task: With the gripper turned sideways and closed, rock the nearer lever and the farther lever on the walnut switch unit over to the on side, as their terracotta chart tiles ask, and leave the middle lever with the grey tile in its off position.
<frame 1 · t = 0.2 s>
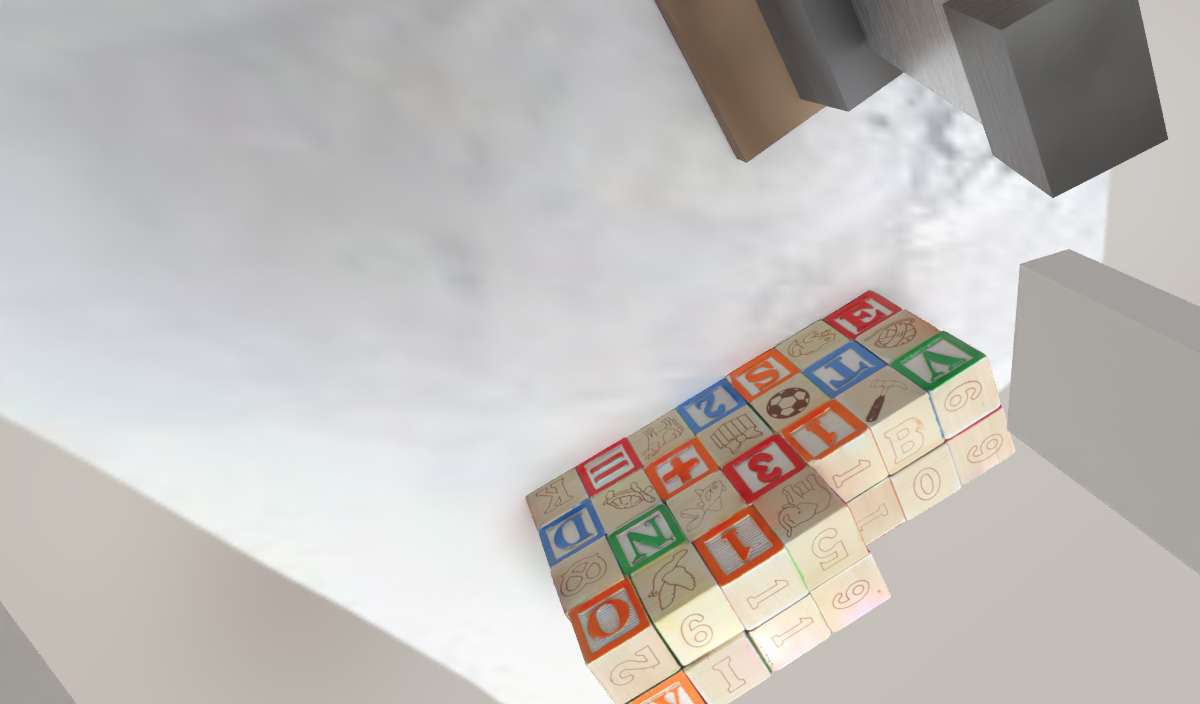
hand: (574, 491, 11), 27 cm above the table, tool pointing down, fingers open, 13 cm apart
lever 1: (957, 25, 25), point 13 cm above the table, hinge at -15.0°
stack of blocks: (718, 430, 45), on the table
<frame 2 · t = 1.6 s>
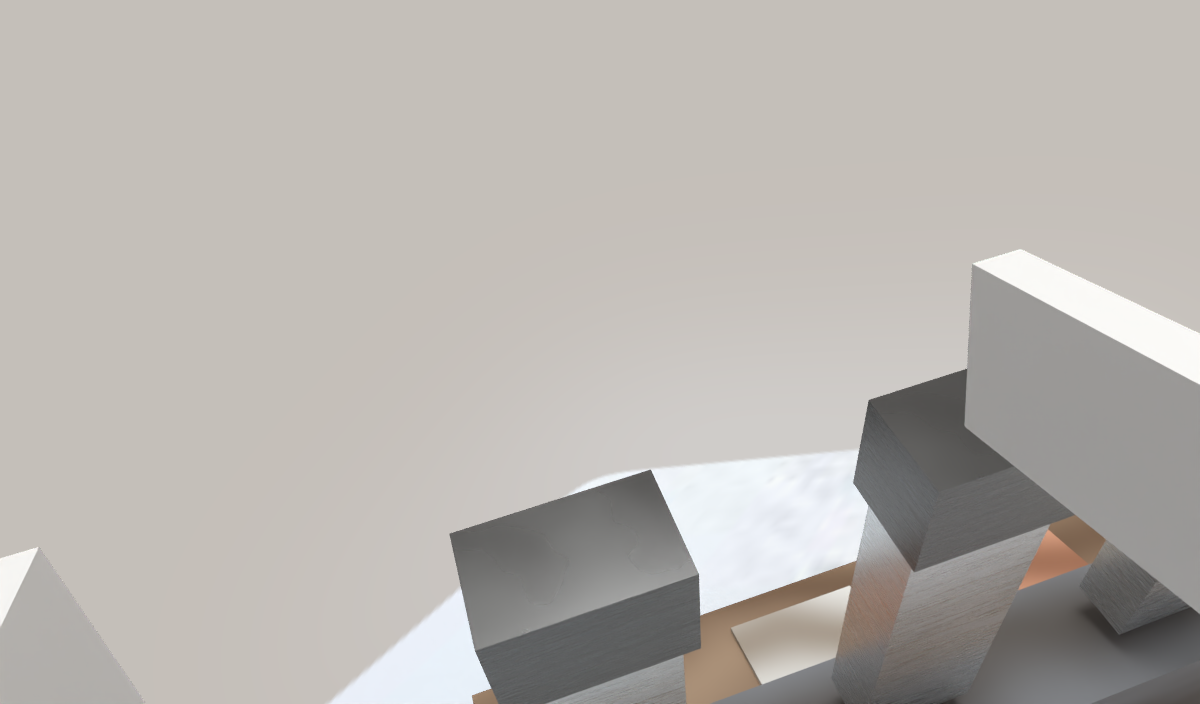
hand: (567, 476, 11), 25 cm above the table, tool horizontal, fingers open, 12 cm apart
lever 2: (602, 697, 22), point 13 cm above the table, hinge at -15.0°
lever middle: (936, 577, 24), point 13 cm above the table, hinge at -15.0°
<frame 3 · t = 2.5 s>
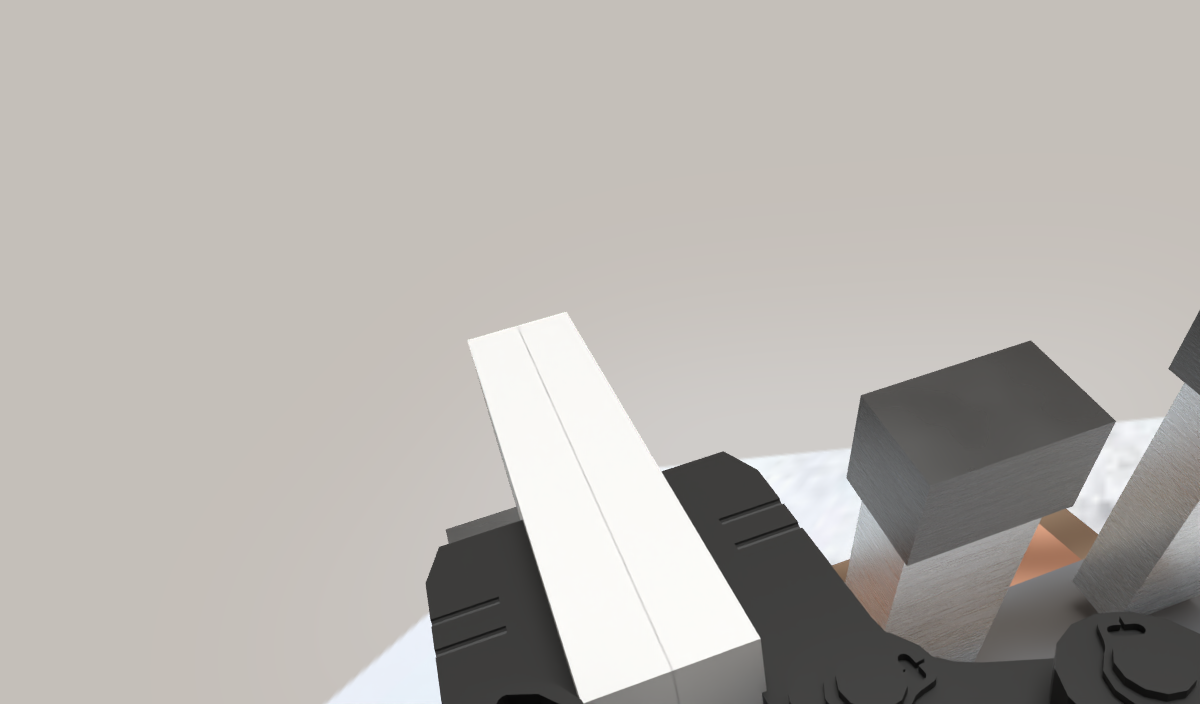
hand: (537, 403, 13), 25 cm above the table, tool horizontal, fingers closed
lever 2: (598, 693, 22), point 13 cm above the table, hinge at -15.0°
lever middle: (929, 572, 24), point 13 cm above the table, hinge at -15.0°
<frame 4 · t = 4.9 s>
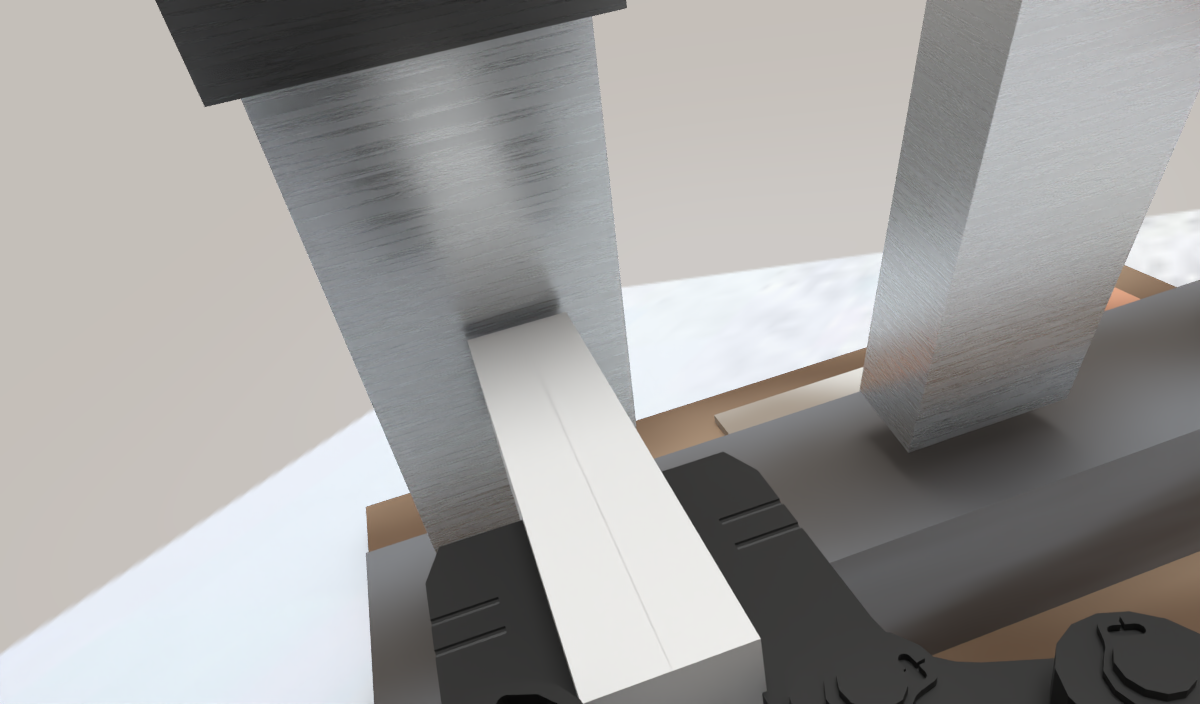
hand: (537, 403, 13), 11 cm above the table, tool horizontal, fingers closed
switch unit: (904, 534, 24), on the table
lever 2: (472, 268, 13), point 13 cm above the table, hinge at -14.5°, touching gripper
lever middle: (1045, 110, 14), point 13 cm above the table, hinge at -15.0°
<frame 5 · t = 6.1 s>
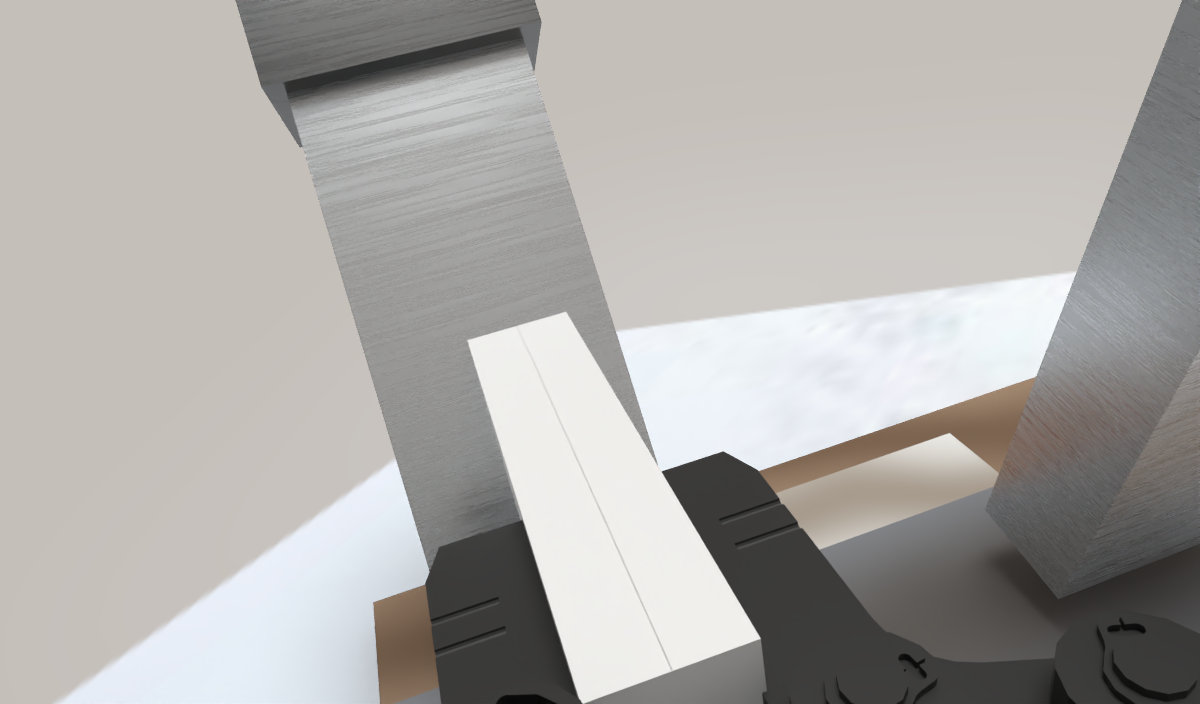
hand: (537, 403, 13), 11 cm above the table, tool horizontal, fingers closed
switch unit: (1010, 652, 20), on the table
lever 2: (476, 296, 15), point 12 cm above the table, hinge at 32.8°, touching gripper
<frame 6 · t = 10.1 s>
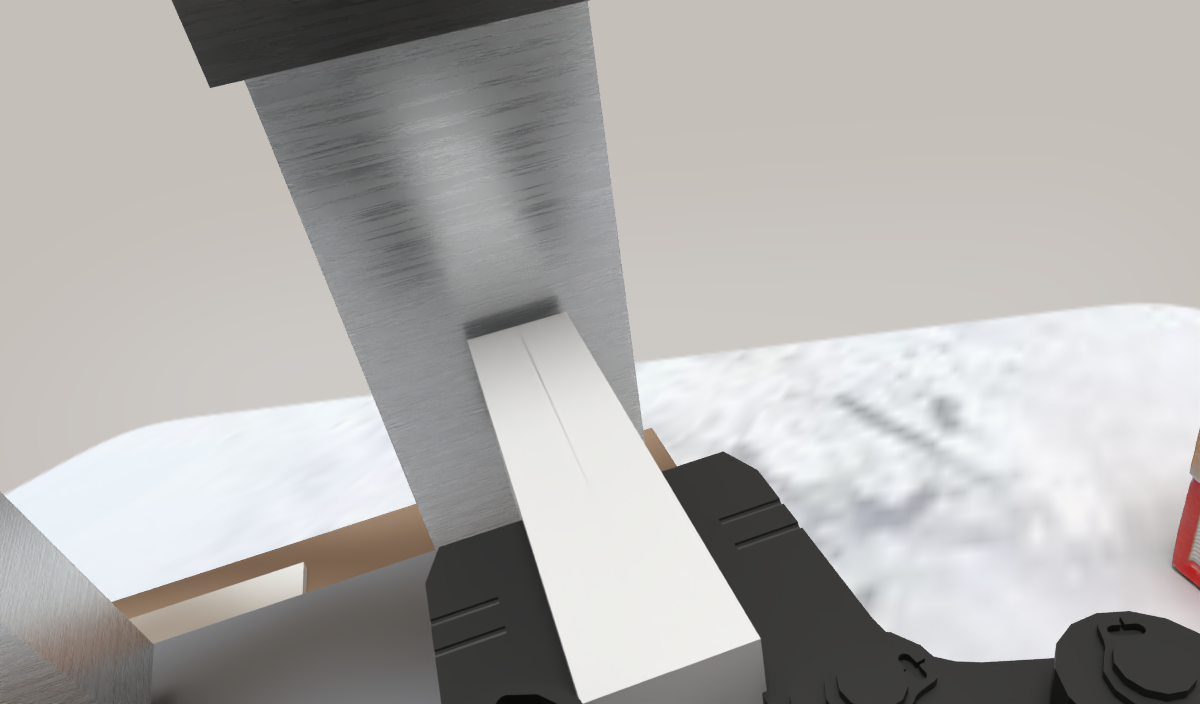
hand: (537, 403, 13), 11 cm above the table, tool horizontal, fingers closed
lever 1: (476, 268, 13), point 13 cm above the table, hinge at -10.2°, touching gripper
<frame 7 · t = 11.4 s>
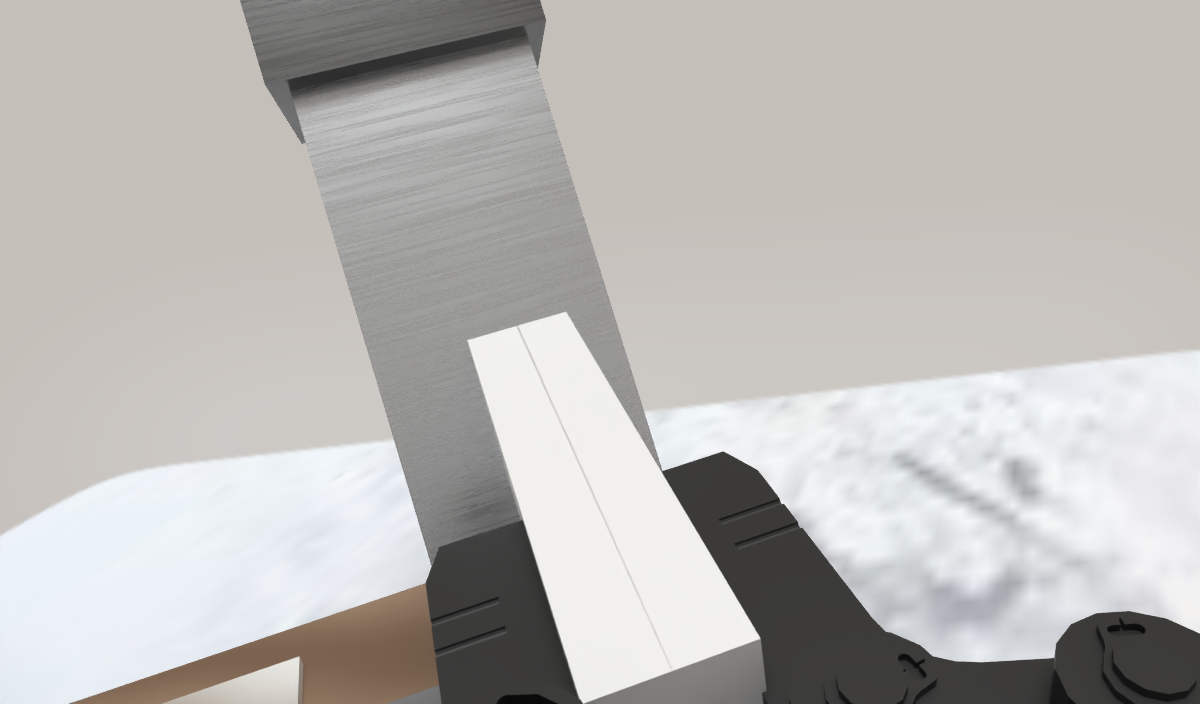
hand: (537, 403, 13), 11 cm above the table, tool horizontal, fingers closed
lever 1: (479, 295, 15), point 12 cm above the table, hinge at 32.2°, touching gripper
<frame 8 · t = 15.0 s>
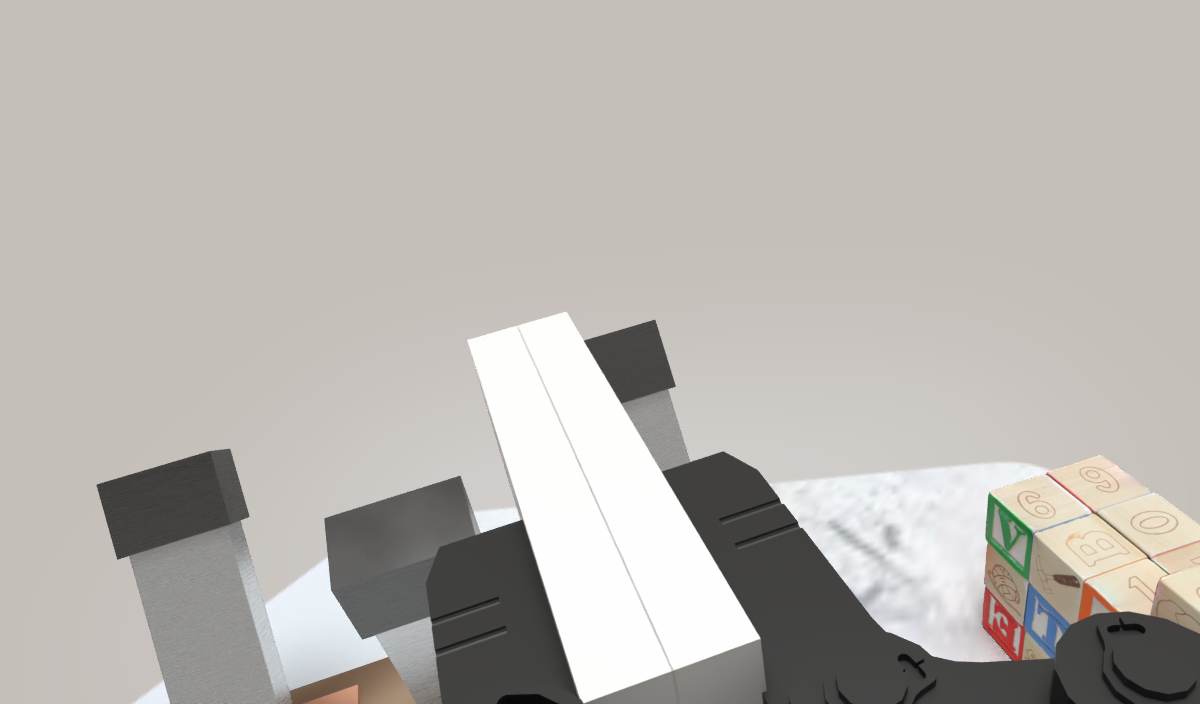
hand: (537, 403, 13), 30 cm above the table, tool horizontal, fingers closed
lever 1: (647, 481, 39), point 12 cm above the table, hinge at 32.0°
lever 2: (211, 624, 36), point 12 cm above the table, hinge at 32.0°
lever middle: (448, 635, 32), point 13 cm above the table, hinge at -15.0°
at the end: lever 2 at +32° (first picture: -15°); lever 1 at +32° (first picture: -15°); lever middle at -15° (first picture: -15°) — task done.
